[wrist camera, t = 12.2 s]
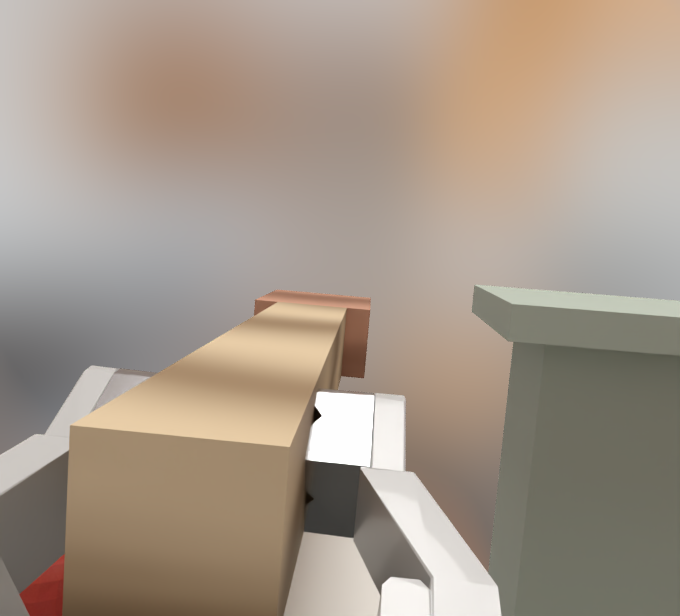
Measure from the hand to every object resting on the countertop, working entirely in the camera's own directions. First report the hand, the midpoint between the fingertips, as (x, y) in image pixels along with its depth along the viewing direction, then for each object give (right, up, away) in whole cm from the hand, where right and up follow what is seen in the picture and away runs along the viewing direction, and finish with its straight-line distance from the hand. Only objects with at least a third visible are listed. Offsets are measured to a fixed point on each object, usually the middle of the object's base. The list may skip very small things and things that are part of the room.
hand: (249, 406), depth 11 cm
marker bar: (0, -1, +5) cm, 5 cm away
